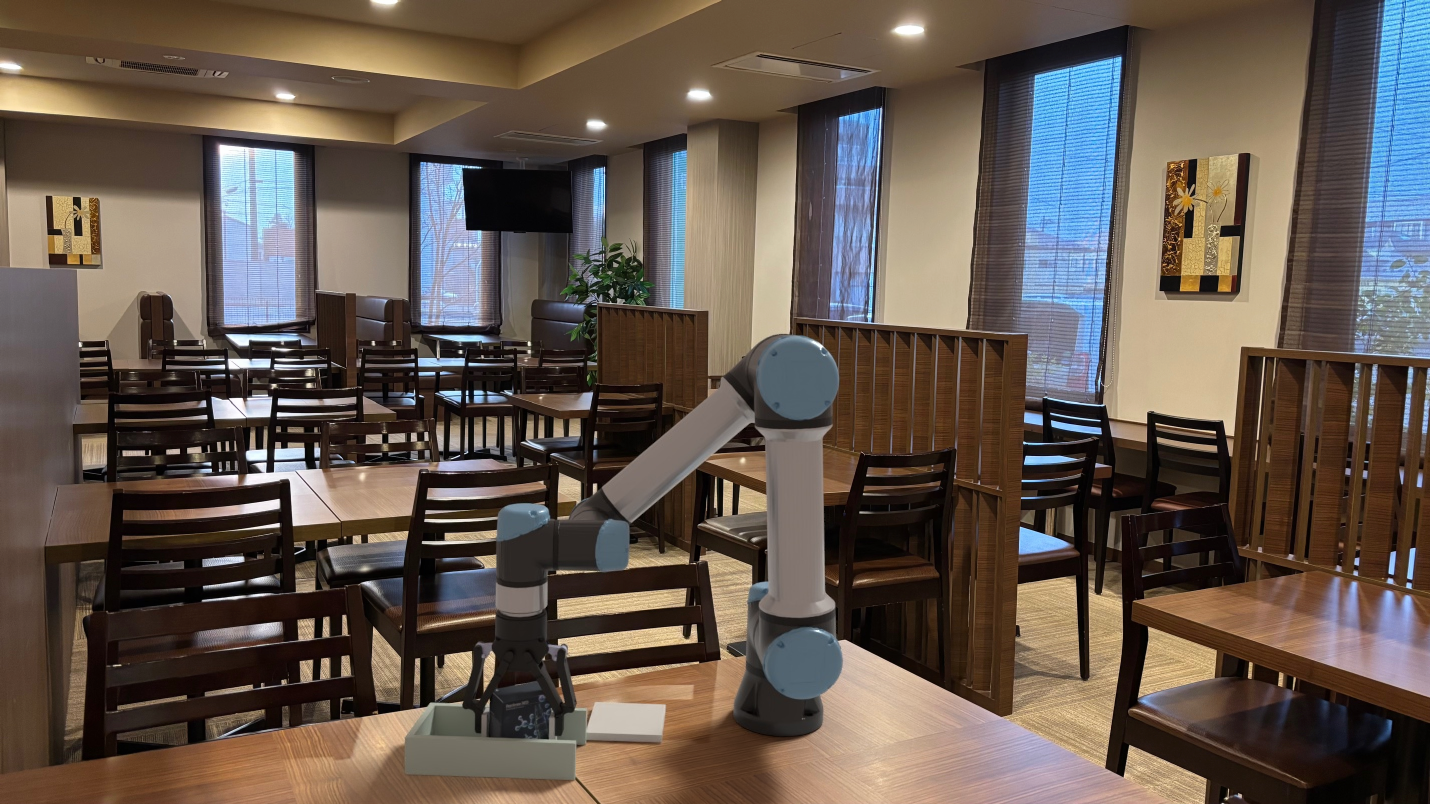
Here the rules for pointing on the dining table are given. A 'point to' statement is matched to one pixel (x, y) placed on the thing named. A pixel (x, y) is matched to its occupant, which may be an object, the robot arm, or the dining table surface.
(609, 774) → the dining table surface
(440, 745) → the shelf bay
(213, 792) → the dining table surface
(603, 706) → the plate
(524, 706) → the box
